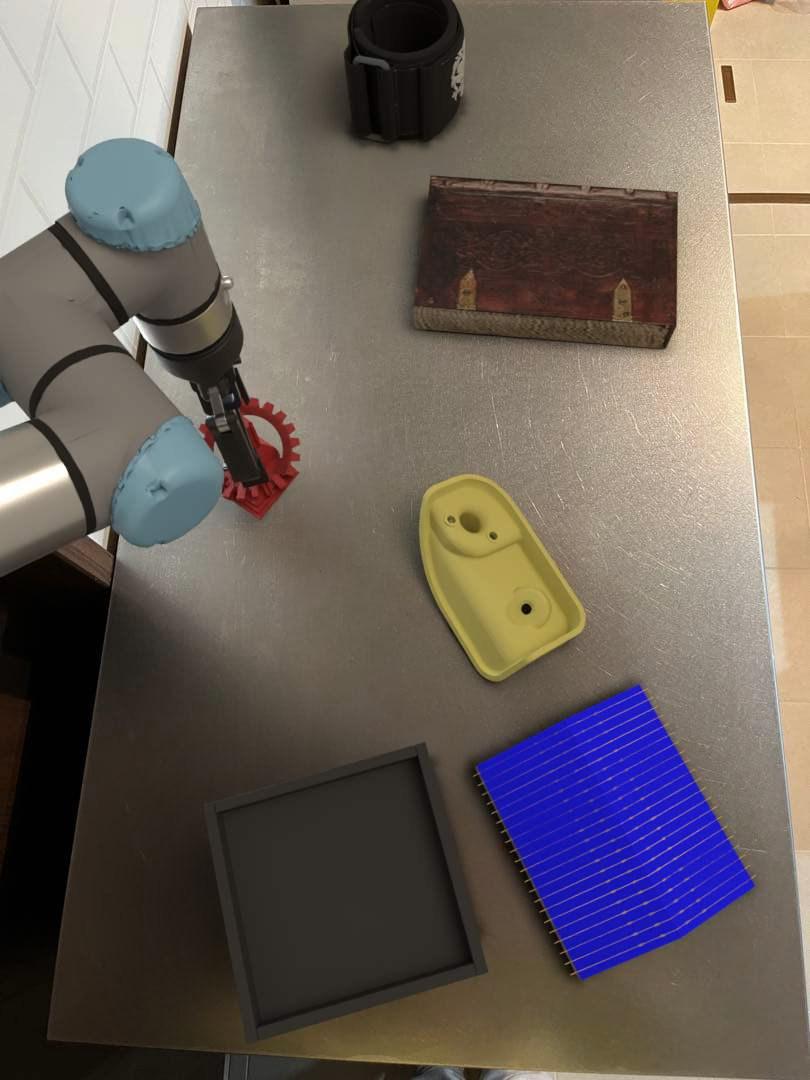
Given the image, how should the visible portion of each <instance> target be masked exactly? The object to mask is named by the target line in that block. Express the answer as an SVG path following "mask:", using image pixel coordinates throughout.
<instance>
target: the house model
mask: <svg viewBox="0 0 810 1080" xmlns="http://www.w3.org/2000/svg"><path fill="white" fill-rule="evenodd" d="M647 690H649V687H648V688H646V689H643V688H642V686H641V684H637V685H635V686H633V687H631V688H629V689H627V690H625V691H622V692H620V693H618V694H616V695H614V696H612V697H610V698H607V699H606V700H603V701H601V702H599V703H596V704H595V705H592V706H590V707H588V708H586V709H584V710H581V711H580V712H578V713H576V714H574V715H571V716H569V717H567V718H565V719H563V720H561V721H559V722H557V723H556V724H553V725H551V726H549V727H548V728H546V729H544V730H542V731H540V732H539V733H536V734H534V735H532V736H531V737H529V738H527V739H525V740H523V741H521V742H520V743H517V744H515V745H513V746H512V747H510V748H508V749H506V750H504V751H503V752H500V753H499V754H496V755H494V756H492V757H491V758H489V759H487V760H485V761H483V762H481V763H479V764H478V765H476V766H475V771H476V774H474V775H472V777H473V778H475V776H477V775H478V777H479V779H480V781H481V783H480V784H478V785H477V786H478V787H479V786H481V785H482V786H483V787H484V789H485V791H486V792H485V793H482V796H484V795H486V794H487V795H488V798H489V800H490V802H488V803H487V805H490V804H491V803H492V806H493V808H494V810H495V811H493V812H492V813H491V815H492V814H495V813H496V814H497V816H498V818H499V821H497V822H496V824H499V823H501V824H502V826H503V828H504V830H502V831H501V832H500V834H503V833H504V832H506V835H507V836H508V838H509V840H507V841H505V842H504V843H508V842H510V844H512V847H513V850H511V851H509V853H512V852H515V853H516V856H517V857H518V860H515V863H517V862H519V861H520V864H521V865H522V867H523V869H522V870H520V871H519V873H521V872H525V873H526V876H527V877H528V879H527V880H525V881H524V883H526V882H528V881H530V884H531V885H532V887H533V889H532V890H530V891H529V893H531V892H535V894H536V896H537V897H538V899H537V900H535V901H534V903H537V902H540V904H541V906H542V908H543V910H540V911H539V914H540V913H542V912H545V914H546V916H547V918H548V920H546V921H544V924H546V923H548V922H550V924H551V926H552V928H553V930H551V931H550V932H549V934H551V933H555V934H556V936H557V939H558V940H557V941H555V944H557V943H559V944H561V947H562V949H563V951H562V952H560V953H559V955H561V954H564V953H565V955H566V957H567V958H568V962H566V963H564V965H568V964H570V965H571V967H572V969H573V971H574V972H572V973H570V976H572V975H576V976H577V977H578V978H579V979H580V980H581V981H583V980H585V979H587V978H590V977H592V976H595V975H597V974H599V973H602V972H604V971H606V970H609V969H611V968H614V967H616V966H619V965H622V964H624V963H625V962H628V961H630V960H632V959H635V958H637V957H640V956H642V955H644V954H647V953H649V952H651V951H654V950H656V949H659V948H661V947H663V946H665V945H669V944H670V943H673V942H676V941H677V940H680V939H682V938H683V937H685V936H686V935H688V934H689V933H691V932H692V931H693V930H695V929H696V928H698V927H699V926H701V925H702V924H703V923H705V922H706V921H707V920H709V919H711V918H712V917H714V916H715V915H716V914H718V913H719V912H721V911H722V910H724V909H726V907H729V905H731V904H732V903H734V902H735V901H736V900H738V899H740V898H741V897H742V896H744V895H745V894H746V893H748V892H749V891H751V890H752V889H754V888H755V887H756V884H755V883H754V881H753V880H752V879H753V878H755V877H756V876H757V874H754V875H753V876H750V875H749V872H748V870H747V868H749V867H750V866H751V864H749V865H747V866H744V864H743V862H742V860H741V859H742V858H743V857H745V856H746V855H745V854H743V855H741V856H740V857H739V854H737V852H736V850H735V849H736V848H737V847H739V846H740V844H738V845H736V846H733V844H732V843H731V841H730V840H729V839H731V838H732V837H734V836H735V835H734V834H732V835H731V836H729V837H728V836H727V834H726V832H725V830H724V829H727V827H728V825H726V826H723V827H722V826H721V824H720V822H719V819H721V818H722V817H723V815H721V816H719V817H716V815H715V813H714V811H713V810H714V809H716V808H717V807H718V806H717V805H716V806H715V807H713V808H711V806H710V805H709V803H708V800H709V799H711V798H712V796H710V797H708V798H706V797H705V795H704V794H703V792H702V791H704V789H706V788H707V787H706V786H705V787H703V788H702V789H700V787H699V785H698V783H697V782H698V781H700V780H701V777H700V778H697V779H695V778H694V777H693V775H692V773H691V772H693V771H694V770H696V768H694V769H692V770H689V768H688V766H687V765H686V763H688V762H689V761H690V759H687V760H685V761H684V759H683V758H682V755H681V754H682V753H683V752H685V749H684V750H682V751H681V752H679V751H678V749H677V747H676V746H675V745H676V744H678V743H679V741H677V742H673V740H672V739H671V737H670V736H672V734H675V732H674V731H673V732H672V733H668V731H667V730H666V726H667V725H669V724H670V723H669V722H668V723H666V724H665V725H664V724H663V723H662V721H661V719H660V718H661V717H663V716H664V715H665V714H663V713H662V715H659V716H658V714H657V712H656V710H655V709H657V708H658V707H659V705H657V706H655V707H653V705H652V704H651V702H650V700H652V699H653V698H654V696H652V697H650V698H648V697H647V695H646V693H645V691H647Z"/></svg>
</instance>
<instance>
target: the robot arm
mask: <svg viewBox="0 0 810 1080" xmlns="http://www.w3.org/2000/svg"><path fill="white" fill-rule="evenodd" d="M189 186H190V185H189V184H188V181H187V180H186V178H185V176H184V174H183V172H182V170H181V168H180V166H179V165H178V162H176V160H175V159H174V157H173V156H172V154H170V153H169V152H167V151H166V150H165V149H164V148H162V147H161V146H159V145H158V144H155V143H153V142H151V141H148V140H145V139H142V138H136V137H118V138H111V139H107V140H104V141H101V142H99V143H98V142H97V143H95V145H93V146H90V147H89V148H87V149H86V150H85V151H84V152H82V154H80V155H79V156H78V158H77V162H76V164H75V165H74V167H73V168H72V169H70V170H68V173H67V174H66V178H65V183H64V195H65V199H66V203H67V208H68V210H69V211H68V212H67V213H65V214H63V215H62V216H61V217H59V218H57V219H55V221H54V223H53V224H51V225H49V227H47V228H45V229H44V230H42V231H41V232H39V233H37V234H36V235H35V236H33V237H31V238H29V239H28V240H26V241H25V242H24V243H22V244H20V245H19V246H17V247H15V248H14V249H12V250H11V251H9V252H8V253H6V254H5V255H2V256H1V257H0V409H2V408H4V407H5V406H8V405H9V404H11V403H16V405H17V406H18V407H19V408H20V409H21V410H22V411H23V412H24V414H25V415H26V416H27V417H28V419H29V420H25V421H22V422H20V423H18V424H15V425H12V426H10V427H7V428H4V429H2V430H0V578H1V577H4V576H6V575H8V574H10V573H12V572H14V571H16V570H18V569H20V568H23V567H25V566H27V565H28V564H32V563H33V562H35V561H37V560H39V559H41V558H44V557H46V556H48V555H50V554H52V553H54V552H56V551H58V550H61V549H63V548H65V547H67V546H69V545H72V544H73V543H75V542H78V541H80V540H81V539H83V538H85V537H87V536H89V535H92V534H94V533H95V534H96V533H97V532H100V531H103V530H105V529H106V528H108V527H111V528H112V530H113V531H114V532H115V534H116V535H120V536H121V537H122V538H123V539H124V540H125V541H126V542H127V543H128V544H130V545H132V546H135V547H138V548H145V549H147V548H150V547H151V548H152V547H154V546H155V545H160V546H161V545H167V544H170V543H172V542H174V541H176V540H178V539H180V538H182V537H183V536H185V535H186V534H188V533H190V532H191V531H192V530H194V528H196V527H197V526H199V525H200V524H201V523H202V522H203V521H204V520H205V519H206V518H207V516H209V514H210V513H211V512H212V510H213V509H214V508H215V506H216V504H217V503H218V501H219V499H220V497H221V495H222V494H221V493H222V485H223V483H224V471H225V472H226V471H229V472H230V475H231V479H232V480H233V482H234V483H235V484H236V483H239V482H241V483H242V485H243V487H244V488H248V487H252V486H255V485H259V484H263V483H267V482H270V481H269V476H268V474H267V472H266V469H265V467H264V465H263V463H262V461H261V458H260V456H259V454H258V452H257V450H256V448H253V446H252V443H251V441H250V438H249V435H248V432H247V429H246V426H245V424H244V421H243V418H242V415H241V412H240V409H239V407H240V406H241V404H242V403H241V398H243V401H244V403H245V405H246V406H248V404H249V401H250V399H251V397H250V396H249V393H248V391H247V388H246V386H245V384H244V382H243V378H242V376H241V374H240V371H239V369H238V367H237V366H236V365H241V364H242V363H243V362H242V358H241V352H242V351H243V346H244V340H245V335H244V328H243V326H242V322H241V320H240V318H239V315H238V313H237V310H236V307H235V304H234V302H233V301H232V299H231V296H230V293H229V290H231V289H232V288H234V284H235V283H234V280H233V278H232V277H231V276H230V275H225V276H223V275H222V271H221V269H220V266H219V264H218V262H217V259H216V256H215V253H214V250H213V248H212V244H211V242H210V239H209V236H208V233H207V230H206V227H205V224H204V222H203V218H202V212H201V208H200V206H199V203H198V200H196V199H195V198H194V195H193V192H192V191H191V188H190V187H189ZM130 319H133V321H134V323H135V324H136V326H137V328H138V330H139V332H140V334H141V335H142V337H143V339H144V340H145V341H146V343H147V344H148V346H149V348H150V350H151V352H152V353H153V355H154V356H155V359H156V360H157V362H158V364H159V365H160V366H161V367H162V369H164V371H166V372H167V373H168V374H170V375H172V376H174V377H175V378H178V379H180V380H184V381H188V383H189V385H190V388H191V391H192V392H194V393H196V395H197V398H198V400H199V403H200V406H201V408H202V411H203V413H204V414H205V415H206V417H205V419H204V424H205V425H206V427H207V428H208V430H209V431H210V433H211V434H212V436H213V437H214V439H215V443H216V446H217V448H218V451H219V453H220V455H221V457H222V459H223V461H222V464H221V461H220V459H219V458H218V457H217V456H216V454H215V452H214V453H213V452H212V450H211V449H210V447H209V446H208V445H207V443H206V442H205V440H204V439H203V438H204V437H203V436H202V434H201V433H200V431H199V430H198V429H197V428H196V426H195V423H194V422H193V421H192V419H191V418H189V417H188V416H185V415H184V414H183V413H182V412H181V411H180V409H179V408H178V407H177V406H176V405H175V404H174V403H173V401H172V400H171V399H170V398H169V397H168V396H167V394H165V392H164V391H163V390H162V389H161V388H160V387H159V386H158V385H157V384H156V382H155V381H154V380H153V379H152V378H151V376H150V375H148V374H147V372H146V371H145V370H144V369H143V368H142V367H141V365H140V363H139V361H137V360H136V358H135V357H134V356H133V355H132V353H131V352H130V351H129V350H128V349H127V348H126V346H125V345H124V344H123V343H122V342H121V341H120V339H119V338H118V337H117V335H115V332H116V331H118V330H119V329H120V328H121V327H122V326H124V325H126V324H127V323H128V322H129V321H130ZM234 366H235V367H234ZM207 415H210V416H207ZM223 468H224V471H223Z"/></svg>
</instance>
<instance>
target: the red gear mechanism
mask: <svg viewBox="0 0 810 1080" xmlns="http://www.w3.org/2000/svg"><path fill="white" fill-rule="evenodd" d="M241 403H242V404H241V406H240V407H239V409H240V412H241V415H242V418H243V421H244V424H245V426H246V429H247V432H248V435H249V438H250V441H251V443H252V446H253V448H256V450H257V452H258V454H259V456H260V458H261V461H262V463H263V465H264V467H265V469H266V472H267V474H268V476H269V481H270V482H267V483H263V484H259V485H255V486H252V487H248V488H244V487H243V485H242V483H241V482H239V483H236V484H235V483H234V482H233V480H232V479H231V475H230V472H229V471H226V472H225V471H224V468H223V467H222V468H223V471H224V483H223V485H222V493H221V495H222V498H223V499H225V500H228V501H231V502H233V503H234V504H236V505H237V506H239V507H240V508H241V509H243V510H245V512H247V513H249V514H251V515H252V516H253V517H255V518H256V519H258V520H259V521H262V519H263V518H264V517H265V516H266V515H267V513H268V512H269V511H270V509H271V508H272V507H273V505H274V504H276V502H277V501H278V500H279V498H280V497H281V496H282V495H283V494H284V493H285V491H286V490H287V489H288V487H289V486H290V485H291V484H292V483H293V482H294V480H295V479H296V477H298V476H299V474H300V471H298V470H297V469H296V467H294V466H293V465H292V463H293V462H300V461H301V454H300V453H297V452H295V451H294V450H293V449H294V448H296V447H299V446H301V441H300V437H291V434H292V433H294V432H295V431H296V430H297V428H296V427H295V425H294V423H293V422H290V423H286V424H284V422H285V419H286V418H287V416H288V415H287V414H286V413H285V412H284V411H283V410H279V411H278V412H276V413H273V412H274V408H275V405H274V404H273V403H271V402H269V401H266V402H265V403H264V404H263V405H262V407H260V399H259V398H257V397H250V401H249V404H248V406H246V405H245V403H244V401H243V398H241ZM208 416H210V415H207V414H206V417H208ZM244 416H254V417H258V418H260V419H263V420H265V421H267V422H268V423H269V424H270V425H271V426H272V427H273V428H274V430H276V432H277V434H278V436H279V438H280V440H281V446H282V447H281V448H282V454H280V452H279V450H278V448H277V447H275V446H274V445H272V444H270V443H269V442H268V441H266V440H265V439H263V438H261V437H260V436H259V435H258V433H257V431H256V428H255V426H254V423H253V422H252V421H251V420H249V419H248V418H246V417H244ZM197 430H198V431H199V432H201V433H202V434H203V435H204V437H202V438H203V439H204V440H205V442H206V443H207V445H208V446H209V447H210V449H211V450H212V452H213V453H214V454H215V443H216V442H215V439H214V437H213V436H212V434H211V433H210V431H209V430H208V428H207V427H206V425H205V423H200V425H199V427H198V429H197Z"/></svg>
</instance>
